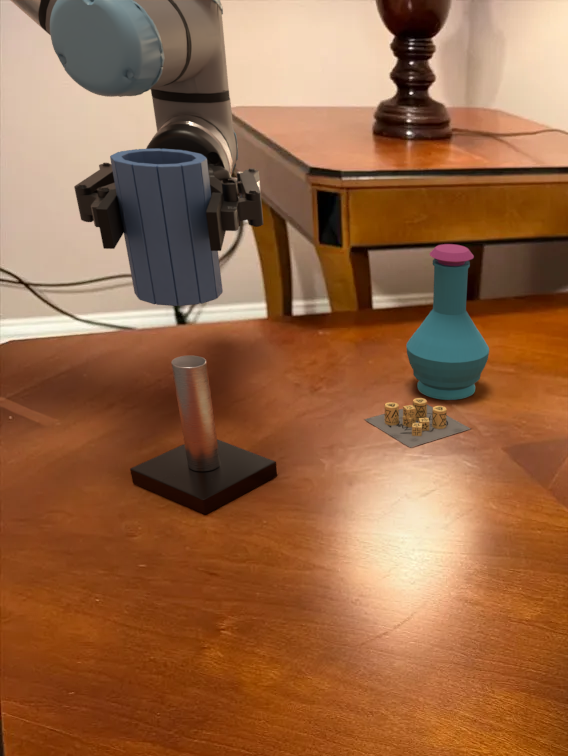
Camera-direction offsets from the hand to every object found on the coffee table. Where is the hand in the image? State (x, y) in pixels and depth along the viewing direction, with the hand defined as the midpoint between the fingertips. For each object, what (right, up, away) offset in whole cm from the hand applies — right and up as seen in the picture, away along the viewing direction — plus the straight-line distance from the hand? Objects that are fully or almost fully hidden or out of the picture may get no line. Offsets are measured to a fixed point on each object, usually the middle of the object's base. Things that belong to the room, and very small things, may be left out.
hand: (160, 230), depth 64 cm
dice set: (+17, -8, +27) cm, 33 cm away
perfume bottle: (+20, -2, +35) cm, 40 cm away
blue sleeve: (-1, -2, +7) cm, 8 cm away
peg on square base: (-1, -16, +14) cm, 22 cm away
